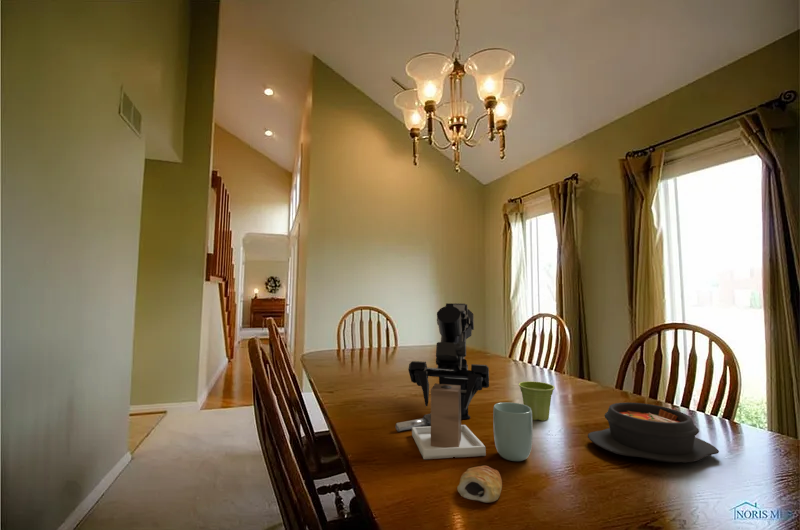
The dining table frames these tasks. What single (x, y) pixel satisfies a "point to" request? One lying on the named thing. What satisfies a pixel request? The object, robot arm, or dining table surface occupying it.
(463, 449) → the tray
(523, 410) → the cup
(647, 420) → the casserole
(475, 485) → the pastry
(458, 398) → the block
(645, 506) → the dining table surface
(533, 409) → the plant pot
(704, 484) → the dining table surface
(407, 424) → the flashlight
